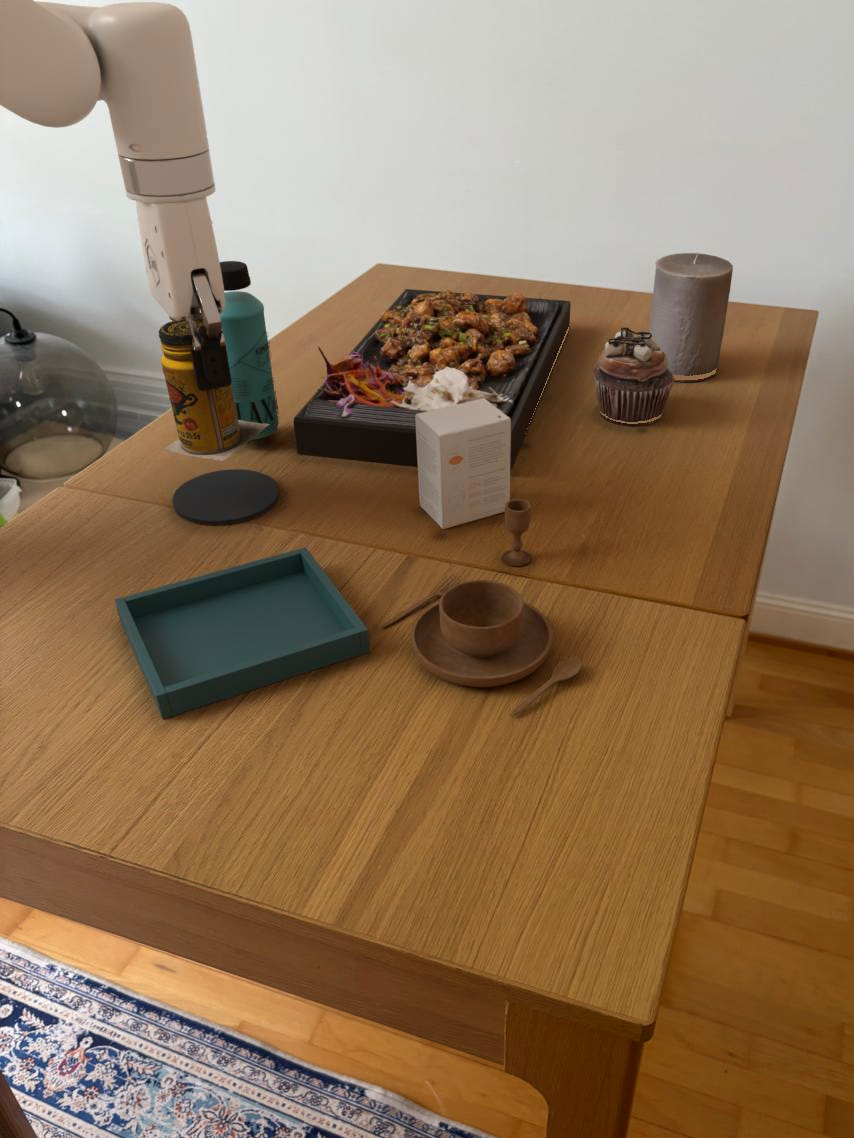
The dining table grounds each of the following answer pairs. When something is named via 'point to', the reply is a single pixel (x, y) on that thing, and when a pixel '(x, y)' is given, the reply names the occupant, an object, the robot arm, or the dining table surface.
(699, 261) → the pillar candle
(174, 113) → the robot arm
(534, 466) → the dining table surface
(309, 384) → the dining table surface
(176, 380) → the condiment
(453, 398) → the food platter
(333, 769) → the dining table surface
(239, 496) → the mat
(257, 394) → the beverage bottle
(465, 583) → the place setting
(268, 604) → the tray
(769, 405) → the dining table surface
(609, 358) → the cupcake
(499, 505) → the small box
